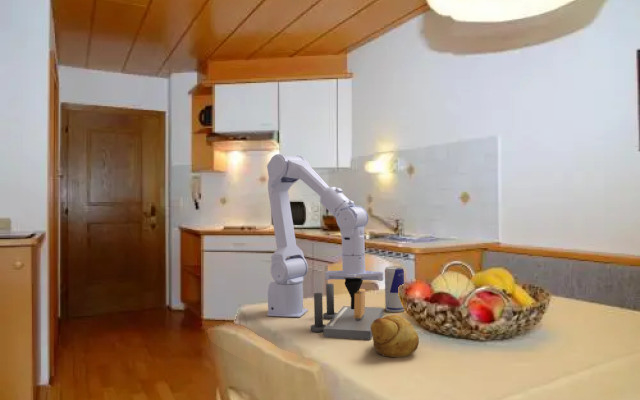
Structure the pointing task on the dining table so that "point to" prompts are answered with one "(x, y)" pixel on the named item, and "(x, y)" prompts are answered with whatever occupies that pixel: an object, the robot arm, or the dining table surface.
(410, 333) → the bread roll
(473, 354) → the dining table surface
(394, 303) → the energy drink
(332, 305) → the cord post far
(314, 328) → the post
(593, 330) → the dining table surface
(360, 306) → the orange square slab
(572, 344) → the dining table surface
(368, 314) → the panel
